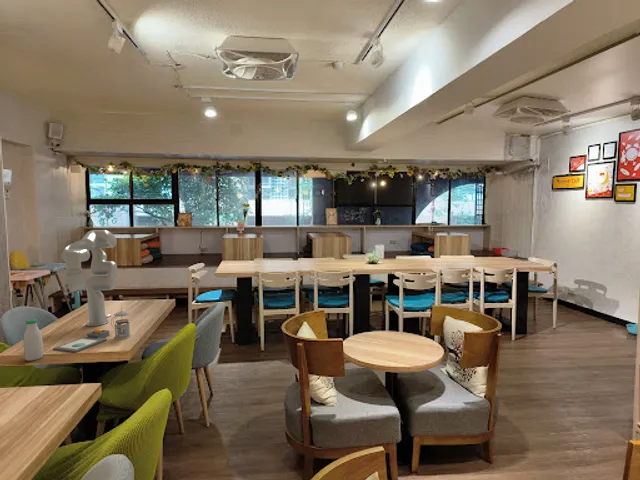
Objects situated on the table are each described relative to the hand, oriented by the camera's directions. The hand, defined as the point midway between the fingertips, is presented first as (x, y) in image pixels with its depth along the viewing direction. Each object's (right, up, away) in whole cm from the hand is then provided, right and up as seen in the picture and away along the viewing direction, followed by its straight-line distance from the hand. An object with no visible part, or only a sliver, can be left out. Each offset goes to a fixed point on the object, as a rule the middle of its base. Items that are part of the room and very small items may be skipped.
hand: (75, 302), depth 235 cm
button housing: (+11, -21, +4) cm, 24 cm away
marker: (0, -3, 0) cm, 3 cm away
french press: (+25, -21, +4) cm, 33 cm away
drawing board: (+9, -22, -10) cm, 26 cm away
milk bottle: (-4, -24, -29) cm, 38 cm away
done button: (+11, -19, +4) cm, 23 cm away
